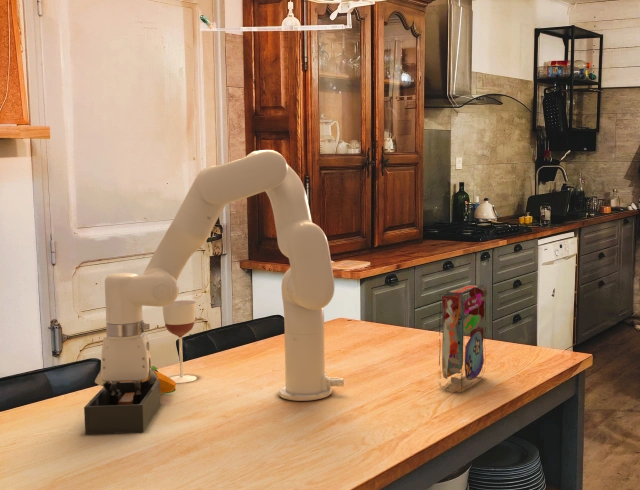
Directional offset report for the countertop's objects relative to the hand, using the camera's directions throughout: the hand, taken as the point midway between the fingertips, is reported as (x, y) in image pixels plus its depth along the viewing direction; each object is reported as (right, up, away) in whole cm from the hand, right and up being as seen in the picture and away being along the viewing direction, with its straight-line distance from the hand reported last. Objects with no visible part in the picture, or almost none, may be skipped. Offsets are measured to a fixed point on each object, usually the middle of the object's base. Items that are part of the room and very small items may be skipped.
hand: (127, 410), depth 172 cm
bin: (+1, -1, -3) cm, 3 cm away
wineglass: (+4, +2, +30) cm, 30 cm away
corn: (-1, 0, +16) cm, 16 cm away
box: (+78, +2, +28) cm, 83 cm away
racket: (0, -1, -3) cm, 3 cm away
